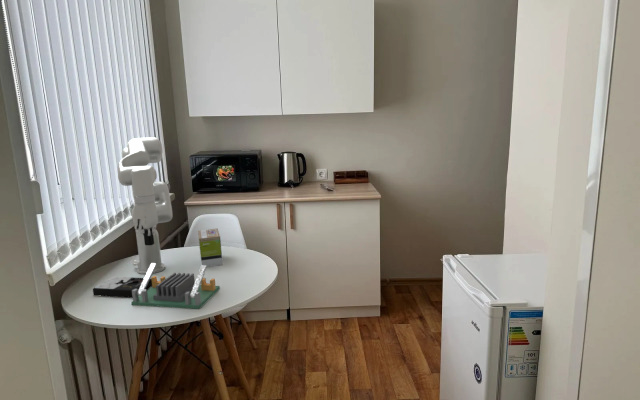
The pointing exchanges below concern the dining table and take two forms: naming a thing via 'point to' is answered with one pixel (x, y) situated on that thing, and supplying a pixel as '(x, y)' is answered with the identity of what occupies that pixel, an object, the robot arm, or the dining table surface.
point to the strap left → (146, 278)
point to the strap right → (198, 281)
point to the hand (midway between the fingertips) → (149, 244)
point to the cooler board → (175, 292)
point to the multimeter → (119, 286)
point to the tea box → (210, 247)
